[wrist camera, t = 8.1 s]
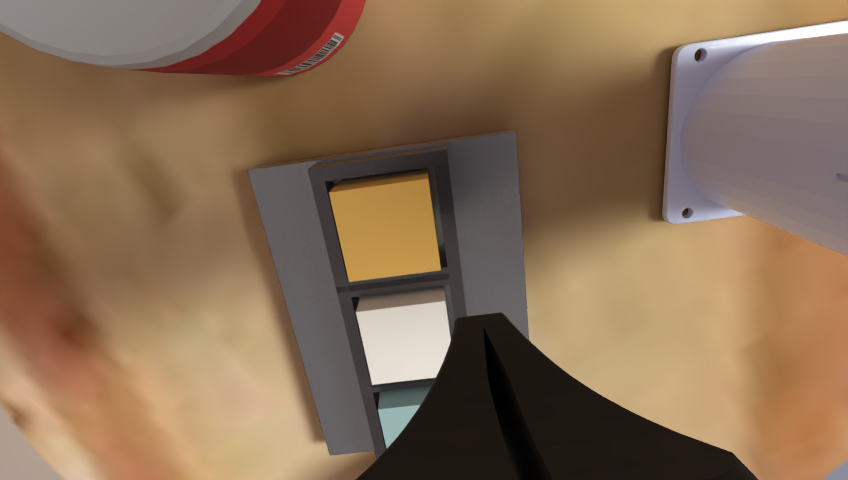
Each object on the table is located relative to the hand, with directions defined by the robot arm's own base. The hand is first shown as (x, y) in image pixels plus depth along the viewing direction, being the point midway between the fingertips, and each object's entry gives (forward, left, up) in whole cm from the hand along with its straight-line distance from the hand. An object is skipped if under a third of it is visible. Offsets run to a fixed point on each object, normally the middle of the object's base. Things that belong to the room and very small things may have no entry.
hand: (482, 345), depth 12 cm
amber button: (+3, -2, -8) cm, 9 cm away
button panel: (+3, +4, -10) cm, 11 cm away
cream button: (+3, +4, -8) cm, 10 cm away
